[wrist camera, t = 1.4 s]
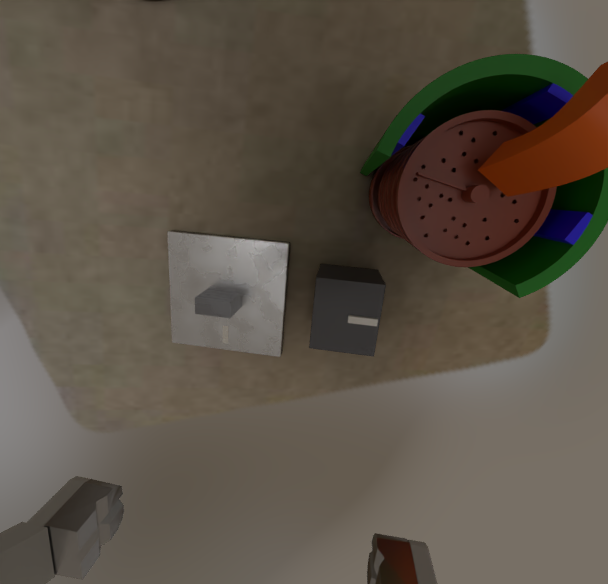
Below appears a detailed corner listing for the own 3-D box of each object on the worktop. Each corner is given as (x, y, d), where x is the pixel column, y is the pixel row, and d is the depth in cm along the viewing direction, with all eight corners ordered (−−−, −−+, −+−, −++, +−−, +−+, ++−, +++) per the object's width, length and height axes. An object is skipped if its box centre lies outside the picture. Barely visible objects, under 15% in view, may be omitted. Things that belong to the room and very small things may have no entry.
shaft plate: (172, 230, 32) (146, 235, 28) (289, 242, 31) (281, 249, 26) (176, 338, 35) (153, 357, 31) (282, 352, 34) (273, 374, 30)
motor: (341, 204, 29) (340, 217, 10) (395, 108, 27) (530, -121, 8) (435, 258, 30) (602, 365, 11) (497, 168, 27) (872, 96, 8)
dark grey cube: (320, 263, 31) (316, 278, 25) (378, 270, 31) (386, 286, 25) (314, 323, 33) (308, 349, 27) (368, 330, 32) (374, 358, 27)
